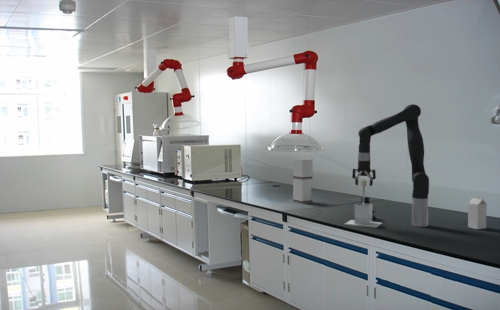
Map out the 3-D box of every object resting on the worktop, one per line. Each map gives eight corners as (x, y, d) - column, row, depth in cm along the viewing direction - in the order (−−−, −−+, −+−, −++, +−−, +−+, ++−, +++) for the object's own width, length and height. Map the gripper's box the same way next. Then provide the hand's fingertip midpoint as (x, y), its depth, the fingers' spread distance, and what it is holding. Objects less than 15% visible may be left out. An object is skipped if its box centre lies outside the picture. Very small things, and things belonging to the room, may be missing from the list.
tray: (381, 223, 306) (381, 222, 306) (376, 227, 293) (376, 226, 293) (350, 220, 315) (350, 219, 315) (344, 224, 303) (344, 223, 303)
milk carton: (477, 229, 287) (478, 198, 286) (467, 227, 294) (468, 196, 293) (486, 228, 290) (486, 197, 289) (476, 226, 297) (477, 195, 296)
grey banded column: (312, 202, 389) (312, 159, 387) (302, 203, 383) (302, 159, 381) (303, 200, 398) (303, 158, 396) (293, 201, 392) (293, 159, 390)
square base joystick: (372, 222, 306) (372, 203, 305) (368, 225, 298) (368, 206, 297) (358, 221, 310) (358, 202, 310) (354, 223, 302) (354, 204, 302)
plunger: (370, 206, 305) (371, 180, 304) (367, 208, 299) (368, 181, 298) (359, 205, 309) (359, 179, 307) (356, 207, 302) (356, 180, 301)
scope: (376, 198, 320) (363, 199, 317) (376, 219, 321) (362, 219, 318) (370, 196, 328) (357, 197, 325) (370, 216, 329) (357, 217, 326)
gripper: (377, 159, 302) (376, 185, 303) (354, 159, 308) (354, 184, 309) (374, 160, 295) (373, 187, 296) (351, 159, 302) (351, 185, 303)
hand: (363, 185), depth 303 cm, fingers open, 8 cm apart
